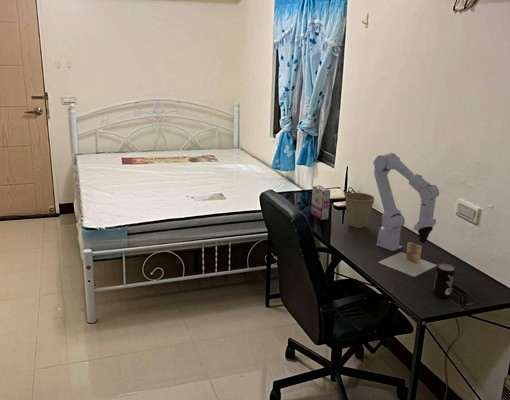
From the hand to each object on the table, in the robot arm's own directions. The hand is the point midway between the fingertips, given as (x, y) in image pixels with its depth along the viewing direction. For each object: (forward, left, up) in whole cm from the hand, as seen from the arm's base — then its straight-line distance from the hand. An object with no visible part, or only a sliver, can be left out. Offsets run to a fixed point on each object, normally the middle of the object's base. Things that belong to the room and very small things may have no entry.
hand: (422, 242), depth 221 cm
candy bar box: (-66, +6, -8) cm, 66 cm away
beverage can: (+24, -25, -8) cm, 35 cm away
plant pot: (-44, +11, -8) cm, 46 cm away
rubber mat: (0, -11, -8) cm, 13 cm away
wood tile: (0, -7, -7) cm, 10 cm away
